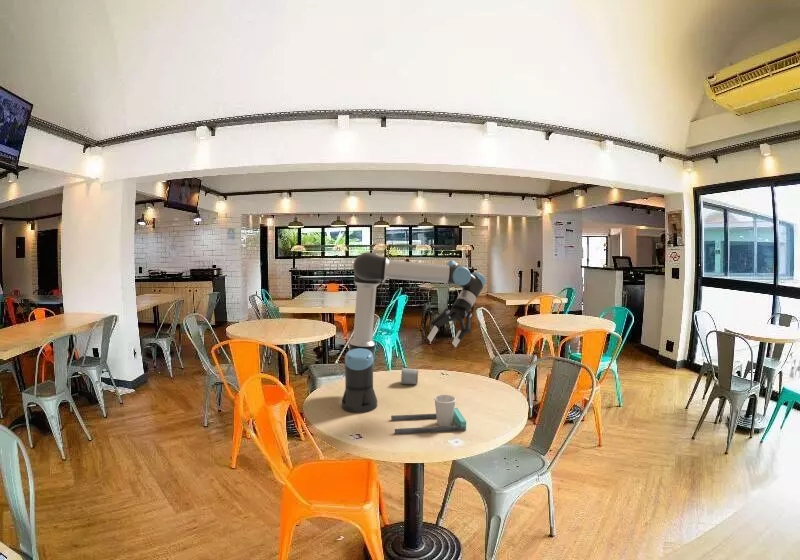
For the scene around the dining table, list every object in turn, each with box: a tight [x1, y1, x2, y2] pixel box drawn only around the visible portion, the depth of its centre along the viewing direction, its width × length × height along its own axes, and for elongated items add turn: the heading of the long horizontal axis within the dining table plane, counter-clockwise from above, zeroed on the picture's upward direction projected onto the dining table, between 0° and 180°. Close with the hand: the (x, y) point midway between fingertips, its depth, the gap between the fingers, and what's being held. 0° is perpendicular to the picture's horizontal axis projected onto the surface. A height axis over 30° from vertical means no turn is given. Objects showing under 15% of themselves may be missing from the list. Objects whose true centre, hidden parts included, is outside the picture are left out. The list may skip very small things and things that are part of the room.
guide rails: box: [390, 413, 465, 435], centre depth 167 cm, size 26×13×2 cm, turn 97°
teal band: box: [453, 407, 467, 432], centre depth 168 cm, size 2×13×4 cm, turn 7°
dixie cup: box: [433, 394, 457, 427], centre depth 168 cm, size 8×8×10 cm
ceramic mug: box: [400, 367, 419, 385], centre depth 216 cm, size 11×8×8 cm
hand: (441, 342), depth 183 cm, fingers open, 13 cm apart
